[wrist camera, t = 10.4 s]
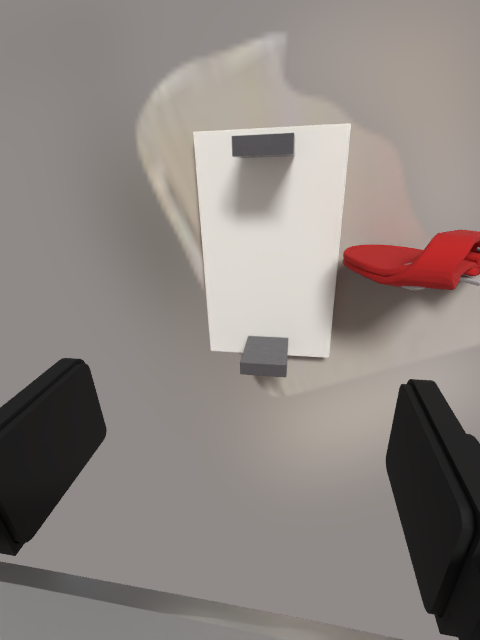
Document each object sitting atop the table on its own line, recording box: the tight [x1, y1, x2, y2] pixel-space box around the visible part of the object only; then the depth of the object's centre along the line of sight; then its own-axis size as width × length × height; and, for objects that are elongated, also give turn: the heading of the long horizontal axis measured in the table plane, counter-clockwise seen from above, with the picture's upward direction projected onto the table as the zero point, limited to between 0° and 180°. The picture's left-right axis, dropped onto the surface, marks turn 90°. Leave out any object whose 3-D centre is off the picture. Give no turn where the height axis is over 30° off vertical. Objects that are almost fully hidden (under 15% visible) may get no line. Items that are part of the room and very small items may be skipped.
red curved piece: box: [343, 230, 480, 290], centre depth 24 cm, size 12×4×10 cm, turn 88°
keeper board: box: [193, 123, 351, 377], centre depth 28 cm, size 12×20×6 cm, turn 2°
